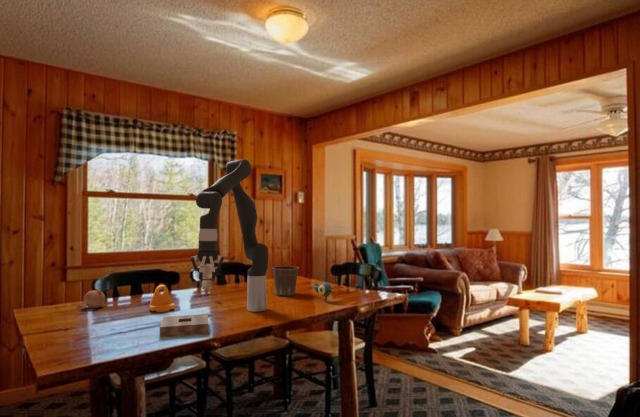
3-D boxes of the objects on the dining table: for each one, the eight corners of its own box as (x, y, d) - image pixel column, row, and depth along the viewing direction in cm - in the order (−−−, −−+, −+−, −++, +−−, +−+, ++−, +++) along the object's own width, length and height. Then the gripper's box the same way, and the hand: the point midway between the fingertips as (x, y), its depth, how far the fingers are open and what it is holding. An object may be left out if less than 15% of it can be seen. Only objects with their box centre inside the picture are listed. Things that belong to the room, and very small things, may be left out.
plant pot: (288, 290, 247) (288, 265, 247) (304, 294, 235) (304, 267, 235) (266, 293, 237) (266, 267, 237) (281, 298, 224) (281, 270, 225)
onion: (102, 313, 200) (112, 295, 201) (85, 311, 192) (96, 293, 193) (93, 304, 205) (102, 286, 206) (76, 302, 197) (86, 284, 197)
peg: (211, 287, 166) (211, 263, 166) (211, 289, 162) (212, 264, 163) (202, 288, 165) (202, 264, 165) (202, 289, 161) (202, 265, 161)
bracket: (151, 312, 189) (151, 287, 189) (149, 309, 195) (149, 285, 196) (174, 310, 194) (175, 286, 195) (172, 307, 201) (172, 283, 201)
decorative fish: (319, 305, 215) (327, 304, 219) (329, 291, 209) (337, 290, 213) (308, 286, 223) (317, 285, 226) (318, 272, 216) (326, 271, 220)
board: (207, 323, 172) (207, 314, 172) (208, 333, 156) (208, 323, 156) (163, 326, 166) (163, 316, 166) (159, 337, 151) (159, 327, 151)
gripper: (224, 239, 170) (223, 279, 169) (190, 239, 166) (188, 280, 165) (226, 240, 163) (225, 281, 162) (190, 240, 158) (188, 283, 158)
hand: (206, 280), depth 164 cm, fingers closed on peg, 3 cm apart
